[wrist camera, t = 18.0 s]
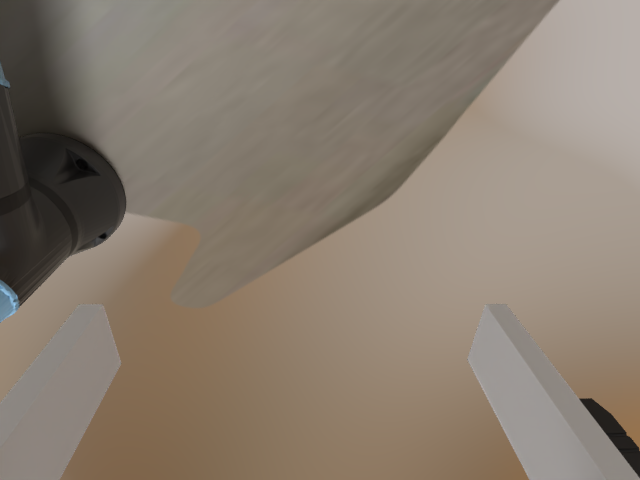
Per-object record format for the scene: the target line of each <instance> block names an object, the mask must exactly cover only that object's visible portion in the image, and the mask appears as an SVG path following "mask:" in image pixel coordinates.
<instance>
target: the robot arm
mask: <svg viewBox="0 0 640 480" xmlns="http://www.w3.org/2000/svg"><path fill="white" fill-rule="evenodd" d="M8 88H10V83H9V81H7V80H6V79H5V76H4V73H3V69H2V66H1V62H0V323H1V322H2V321H3V320H4V319H5V318H8V317H9V316H11V315H13V314H14V313H15V312H16V311H17V310H18V308H19V307H20V306H21V305H22V304H23V303H24V302H25V301H26V300H27V299H28V297H30V296H31V295H32V294H33V292H34V291H35V290H36V289H37V288H38V287H39V286H40V285H41V284H42V283H43V282H44V281H45V280H46V279H47V278H48V277H49V276H50V275H51V274H52V273H53V272H54V271H55V270H56V269H57V268H58V267H59V266H60V265H61V264H62V263H63V262H64V261H65V260H66V259H67V258H68V257H69V256H72V255H74V254H77V253H80V252H82V251H85V250H88V249H91V248H93V247H95V246H97V245H99V244H101V243H103V242H104V241H105V240H107V239H108V238H109V237H110V236H111V235H112V234H113V233H114V232H115V230H116V229H117V228H118V227H119V226H120V224H121V222H122V220H123V217H124V214H125V208H126V201H125V194H124V190H123V187H122V185H121V182H120V180H119V178H118V177H117V175H116V173H115V172H114V170H113V169H112V168H111V167H110V165H109V164H108V163H107V162H106V161H105V160H104V159H103V158H102V157H101V156H100V155H99V154H97V153H96V152H95V151H93V150H92V149H91V148H89V147H87V146H86V145H84V144H82V143H80V142H78V141H76V140H74V139H71V138H68V137H65V136H61V135H57V134H49V133H38V134H31V135H27V136H24V137H21V138H19V135H18V131H17V127H16V122H15V118H14V113H13V109H12V105H11V100H10V96H9V92H8ZM467 360H468V362H469V364H470V366H471V368H472V370H473V372H474V373H475V375H476V377H477V379H478V381H479V383H480V385H481V387H482V389H483V391H484V393H485V395H486V396H487V399H488V401H489V402H490V404H491V406H492V408H493V410H494V412H495V414H496V416H497V418H498V420H499V422H500V424H501V425H502V428H503V429H504V431H505V433H506V435H507V437H508V439H509V441H510V443H511V445H512V447H513V449H514V451H515V453H516V455H517V456H518V458H519V460H520V462H521V464H522V466H523V468H524V470H525V472H526V474H527V476H528V478H529V480H640V451H639V447H638V446H637V445H636V444H635V443H634V442H633V440H632V439H631V438H630V437H628V436H627V435H626V432H625V430H624V429H623V428H622V427H621V425H620V424H619V423H618V422H617V421H616V419H615V418H614V417H613V416H612V415H611V414H610V413H609V412H608V411H607V410H605V409H604V408H603V407H601V406H600V405H599V404H598V403H596V402H595V401H594V400H593V399H579V398H578V397H577V396H576V394H575V393H574V392H573V391H572V389H571V388H570V387H569V385H568V384H567V383H566V382H565V380H564V379H563V377H562V376H561V375H560V374H559V372H558V371H557V370H556V369H555V367H554V366H553V365H552V363H551V362H550V361H549V359H548V358H547V357H546V355H545V354H544V353H543V351H542V350H541V349H540V347H539V346H538V345H537V344H536V342H535V341H534V340H533V338H532V337H531V336H530V334H529V333H528V332H527V331H526V329H525V328H524V327H523V325H522V324H521V323H520V321H519V320H518V319H517V317H516V316H515V315H514V314H513V312H512V311H511V310H510V308H509V307H508V306H507V304H486V305H485V307H484V310H483V313H482V316H481V320H480V322H479V325H478V328H477V332H476V335H475V338H474V341H473V344H472V347H471V350H470V353H469V356H468V359H467ZM120 365H121V361H120V358H119V355H118V352H117V348H116V345H115V342H114V338H113V335H112V332H111V329H110V325H109V322H108V319H107V316H106V312H105V309H104V306H103V305H102V304H79V305H78V306H77V308H76V309H75V310H74V311H73V313H72V314H71V315H70V316H69V318H68V319H67V320H66V321H65V323H64V324H63V325H62V326H61V328H60V329H59V330H58V331H57V333H56V334H55V335H54V337H53V338H52V339H51V340H50V341H49V343H48V344H47V345H46V346H45V348H44V349H43V350H42V352H41V353H40V354H39V355H38V356H37V358H36V359H35V360H34V361H33V363H32V364H31V365H30V366H29V368H28V369H27V370H26V371H25V373H24V374H23V375H22V376H21V378H20V379H19V380H18V381H17V383H16V384H15V385H14V386H13V388H12V389H11V390H10V391H9V393H8V394H7V395H6V396H5V398H4V399H3V400H2V401H1V403H0V480H59V479H60V478H61V476H62V474H63V472H64V470H65V468H66V466H67V464H68V463H69V461H70V459H71V457H72V455H73V453H74V451H75V449H76V448H77V446H78V443H79V442H80V440H81V438H82V436H83V434H84V432H85V431H86V429H87V427H88V425H89V423H90V421H91V419H92V417H93V415H94V413H95V412H96V410H97V408H98V406H99V404H100V402H101V400H102V398H103V396H104V395H105V393H106V391H107V389H108V387H109V385H110V383H111V382H112V380H113V378H114V376H115V374H116V372H117V370H118V368H119V366H120Z"/></svg>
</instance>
